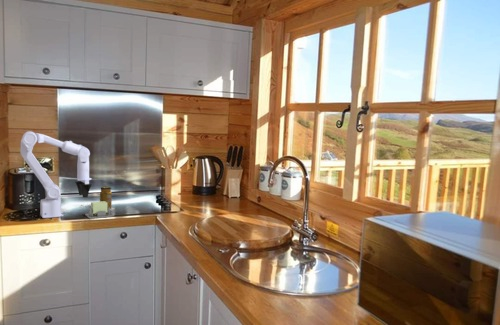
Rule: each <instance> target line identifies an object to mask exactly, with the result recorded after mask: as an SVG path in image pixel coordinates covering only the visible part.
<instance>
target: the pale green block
mask: <svg viewBox="0 0 500 325" xmlns="http://www.w3.org/2000/svg"><path fill="white" fill-rule="evenodd" d="M90 209H92V213H93V214H94V213H97V212H98V211H106V212H107V202H105V201H101V202H100V201H92V202H90Z"/></svg>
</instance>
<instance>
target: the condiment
mask: <svg viewBox="0 0 500 325" xmlns="http://www.w3.org/2000/svg"><path fill="white" fill-rule="evenodd" d="M112 199H113V198H112V187H111V186H101V187H100V193H99V202H101V201H105V202H107V207H110V211H111V210H112V211H113V210H115V208H114V207H112V204H113V203H112V201H113V200H112Z"/></svg>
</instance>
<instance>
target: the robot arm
mask: <svg viewBox="0 0 500 325" xmlns="http://www.w3.org/2000/svg"><path fill="white" fill-rule="evenodd" d="M36 143H38V144H42V143H45V144H48V145H50V146H51V145H52V146H55V147H57V148H61V151H62V152H64V153H66V154H70V155H73V156H77V161H76V162H77V163H76V164H77V168H76V169H77V170H76V171H77V178H76V181H75V185H76V187H77V190H78V195H79V196H82V198H84V199H86V198H88V197H89V192H90V189H91V187H92V183H90V181H91V180H92V179H93V178H91V177H90V155H91V152H90V150H89V149H88V148H87V147H86V146H83V145H82V144H77V143H74V142H73V141H72V140H69V141H68V140H65V141H62V140H59V139H56V138H53V137H51V136H48V135H46V134H43V133H40V132H39V133H38V132H34V131H30V130H28V131H26V132H24V133H23V135H22V138H21V139H20V152H19V153H20V155H21V157H22V158H23V159H24V161H25V163H27V166H28V167H29V168H30V170H31V171H32V172H33V174H34V175H35V177H36V178H37V180H39V182H40V183H41V185H42V187H43V188H44V190H45V192H46V196H45V198H43V199H40V203H39V204H40V205H39V206H40V208H39V209H40V212H39V213H40V214H39V215H40V216H41V217H42V219H49V218H58V217H60V218H61V217H64V214H63V213H62V197H61V193H62V192H61V189H60V187H59V185H57V184H56V183H54V181H53V180H52V179H51V177H50V176H49V174H48V173H47V172H46V170H45V169H44V167H43V166H42V165H41V163H40V162H39V160H38V159H37V157H35V155H34V153H33V148H34V146H35V145H36Z"/></svg>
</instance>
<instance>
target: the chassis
mask: <svg viewBox="0 0 500 325" xmlns="http://www.w3.org/2000/svg"><path fill="white" fill-rule="evenodd" d="M84 216H85V217H87V218H88V219H89V220H92V219H103V218H113V217H115V215H114V214H113V213H112V212H111V210H110V207H107V212H106V211H98V212H97V213H94V214H93V213H92V209H91V208H88V213H84Z"/></svg>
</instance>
